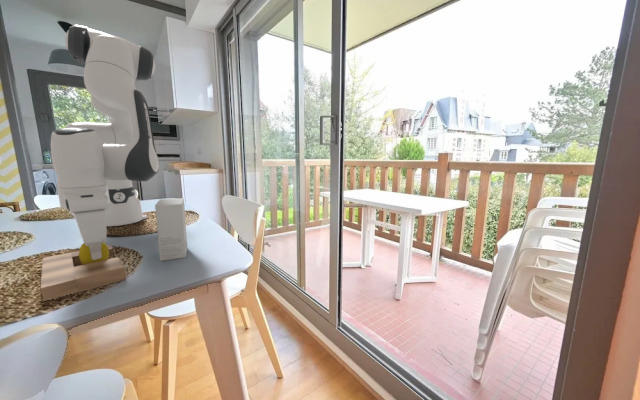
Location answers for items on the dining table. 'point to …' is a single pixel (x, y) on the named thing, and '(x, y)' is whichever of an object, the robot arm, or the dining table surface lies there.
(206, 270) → the dining table surface
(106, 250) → the lemon
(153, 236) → the dining table surface
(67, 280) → the notched board
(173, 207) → the skincare box
